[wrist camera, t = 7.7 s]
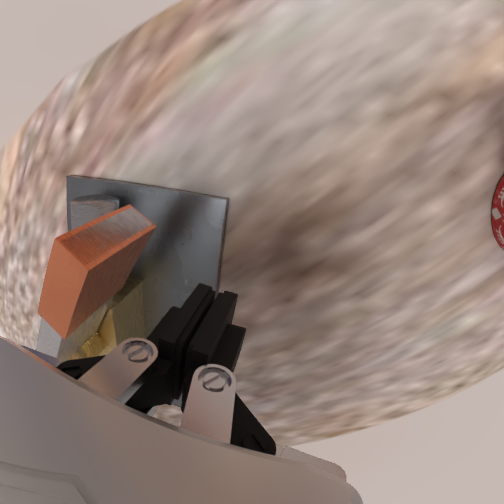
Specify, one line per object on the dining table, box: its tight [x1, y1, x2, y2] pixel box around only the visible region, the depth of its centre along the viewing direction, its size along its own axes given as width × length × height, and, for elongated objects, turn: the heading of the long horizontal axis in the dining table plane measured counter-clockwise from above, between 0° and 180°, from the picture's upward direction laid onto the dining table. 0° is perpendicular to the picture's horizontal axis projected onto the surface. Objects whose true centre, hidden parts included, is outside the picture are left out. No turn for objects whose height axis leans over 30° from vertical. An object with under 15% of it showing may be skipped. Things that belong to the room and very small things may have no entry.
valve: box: [67, 175, 229, 407], centre depth 22 cm, size 22×14×5 cm, turn 171°
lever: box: [36, 204, 157, 362], centre depth 15 cm, size 14×4×6 cm, turn 143°
